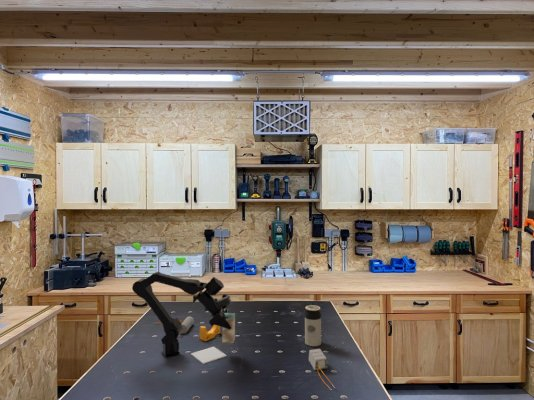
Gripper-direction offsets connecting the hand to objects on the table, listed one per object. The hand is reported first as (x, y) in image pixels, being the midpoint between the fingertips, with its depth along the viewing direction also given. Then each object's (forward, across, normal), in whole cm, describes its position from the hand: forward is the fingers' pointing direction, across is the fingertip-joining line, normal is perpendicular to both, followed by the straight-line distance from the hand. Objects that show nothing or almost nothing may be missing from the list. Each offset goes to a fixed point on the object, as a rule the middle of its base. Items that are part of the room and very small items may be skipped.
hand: (231, 326), depth 160 cm
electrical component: (+38, -16, -20) cm, 46 cm away
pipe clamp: (0, +21, +19) cm, 28 cm away
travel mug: (+36, +14, -19) cm, 43 cm away
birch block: (+4, 0, +6) cm, 7 cm away
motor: (-18, +30, +38) cm, 52 cm away
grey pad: (+2, -1, +17) cm, 17 cm away
